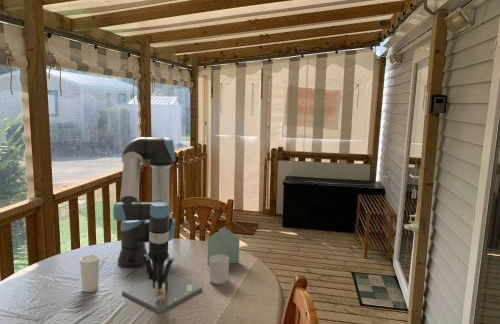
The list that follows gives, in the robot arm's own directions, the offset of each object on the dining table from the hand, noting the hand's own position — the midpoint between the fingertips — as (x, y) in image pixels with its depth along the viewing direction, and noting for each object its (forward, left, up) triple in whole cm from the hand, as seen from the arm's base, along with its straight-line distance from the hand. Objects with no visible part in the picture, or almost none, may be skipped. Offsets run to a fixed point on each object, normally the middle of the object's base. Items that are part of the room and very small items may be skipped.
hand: (157, 295), depth 153 cm
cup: (-31, -11, -3) cm, 33 cm away
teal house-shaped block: (-7, +50, -3) cm, 51 cm away
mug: (+6, +32, -3) cm, 33 cm away
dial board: (-5, +7, -3) cm, 9 cm away
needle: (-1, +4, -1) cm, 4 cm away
